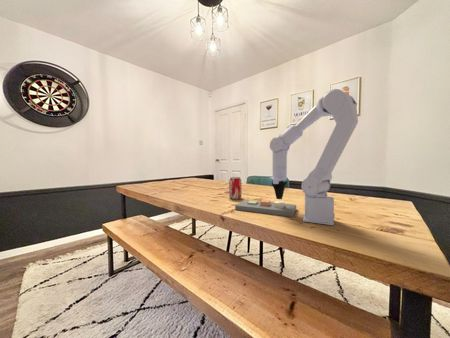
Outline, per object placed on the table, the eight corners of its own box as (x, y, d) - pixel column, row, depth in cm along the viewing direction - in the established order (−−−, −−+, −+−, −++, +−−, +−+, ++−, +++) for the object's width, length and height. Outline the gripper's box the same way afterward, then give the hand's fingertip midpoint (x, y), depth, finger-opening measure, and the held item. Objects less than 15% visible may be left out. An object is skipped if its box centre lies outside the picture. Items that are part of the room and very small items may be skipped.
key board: (296, 209, 81) (296, 204, 81) (292, 217, 70) (292, 211, 70) (245, 203, 92) (245, 199, 92) (235, 209, 81) (235, 205, 81)
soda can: (239, 199, 101) (239, 178, 100) (227, 199, 103) (227, 177, 103) (242, 197, 108) (242, 176, 107) (231, 196, 110) (231, 176, 109)
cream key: (284, 206, 79) (284, 201, 79) (282, 208, 76) (283, 203, 76) (276, 205, 81) (276, 201, 80) (274, 207, 77) (274, 202, 77)
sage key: (257, 206, 85) (257, 201, 84) (255, 208, 81) (255, 203, 81) (250, 205, 86) (250, 200, 86) (247, 207, 83) (247, 202, 83)
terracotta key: (270, 205, 82) (270, 200, 82) (268, 207, 78) (268, 202, 78) (262, 204, 83) (262, 199, 83) (260, 206, 80) (260, 201, 80)
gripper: (273, 166, 85) (273, 195, 86) (265, 167, 73) (265, 201, 73) (289, 166, 82) (289, 196, 83) (283, 167, 69) (283, 203, 70)
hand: (279, 198), depth 78 cm, fingers closed
